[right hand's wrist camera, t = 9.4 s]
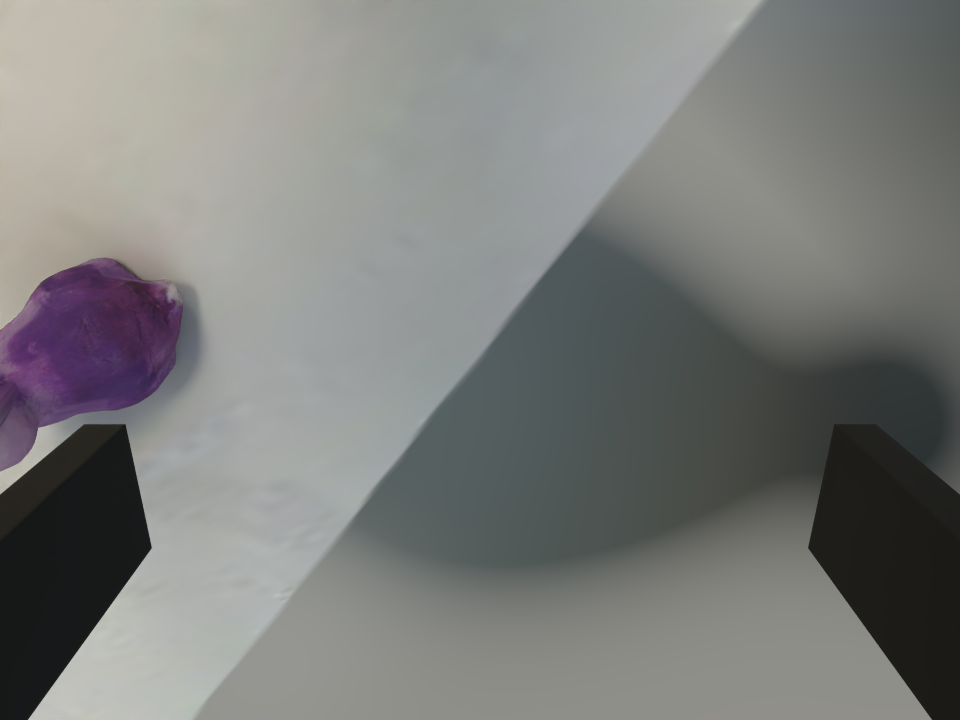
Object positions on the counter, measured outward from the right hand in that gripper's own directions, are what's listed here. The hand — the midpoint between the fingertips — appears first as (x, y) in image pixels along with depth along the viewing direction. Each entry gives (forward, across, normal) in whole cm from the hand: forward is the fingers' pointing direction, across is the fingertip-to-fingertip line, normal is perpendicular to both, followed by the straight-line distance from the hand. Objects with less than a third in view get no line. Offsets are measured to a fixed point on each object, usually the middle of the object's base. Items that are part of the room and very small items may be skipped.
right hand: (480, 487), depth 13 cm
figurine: (+28, -22, -7) cm, 36 cm away
